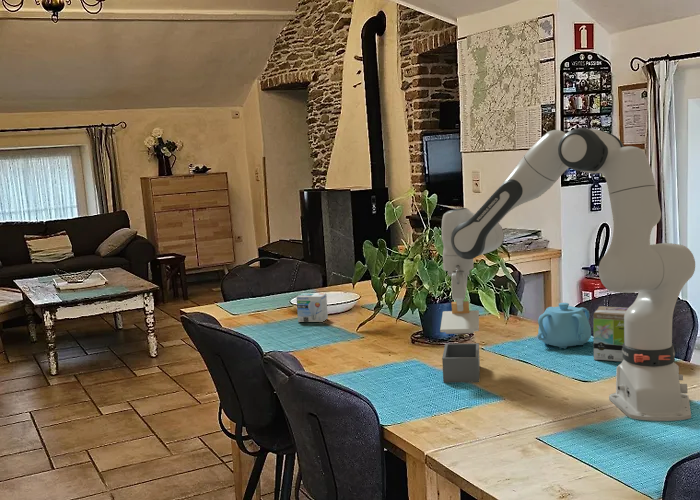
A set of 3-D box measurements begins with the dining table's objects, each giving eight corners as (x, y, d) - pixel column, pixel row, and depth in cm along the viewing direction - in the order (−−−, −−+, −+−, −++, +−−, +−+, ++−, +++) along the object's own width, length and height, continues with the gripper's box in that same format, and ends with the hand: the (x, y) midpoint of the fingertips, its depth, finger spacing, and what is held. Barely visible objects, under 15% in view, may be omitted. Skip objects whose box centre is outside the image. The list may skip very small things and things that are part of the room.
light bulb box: (297, 323, 304) (295, 296, 302) (303, 319, 310) (301, 292, 309) (323, 323, 301) (321, 296, 299) (328, 319, 307) (326, 292, 306)
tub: (479, 382, 214) (478, 358, 214) (443, 382, 216) (442, 358, 215) (479, 366, 230) (478, 343, 229) (446, 366, 232) (445, 343, 231)
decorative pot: (547, 336, 260) (546, 297, 258) (596, 340, 251) (595, 299, 250) (532, 348, 246) (531, 307, 244) (583, 352, 238) (582, 309, 236)
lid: (478, 334, 212) (478, 318, 211) (440, 335, 214) (439, 319, 213) (479, 316, 228) (478, 300, 227) (443, 317, 230) (442, 301, 229)
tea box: (593, 361, 228) (592, 312, 227) (599, 352, 237) (598, 305, 235) (646, 364, 221) (646, 314, 220) (651, 355, 230) (650, 307, 228)
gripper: (468, 268, 215) (470, 316, 217) (469, 258, 235) (471, 302, 237) (445, 269, 216) (448, 317, 218) (448, 259, 236) (451, 303, 238)
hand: (460, 309), depth 227 cm, fingers closed on lid, 2 cm apart
